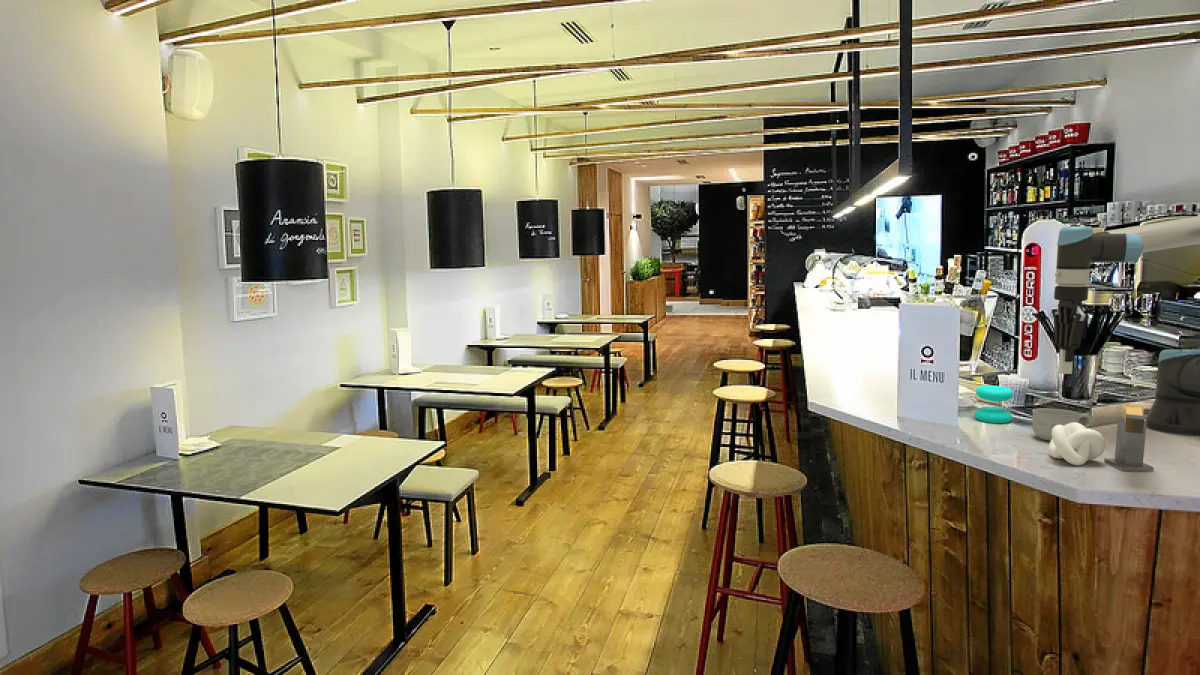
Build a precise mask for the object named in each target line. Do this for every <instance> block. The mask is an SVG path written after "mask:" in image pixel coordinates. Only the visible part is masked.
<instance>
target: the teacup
mask: <svg viewBox="0 0 1200 675" xmlns="http://www.w3.org/2000/svg"><path fill="white" fill-rule="evenodd" d="M1082 418H1086V422H1085V424H1084V425H1083V426H1084V427H1085V428H1086V429H1089V428H1090V426H1091V425H1092V423H1093V420H1092V417H1091V416H1090V414H1087V413H1085V412H1084V413H1082V412H1081V413H1078V412H1076V411H1074V410H1068V409H1061V408H1033V409H1032V431H1033V433H1034V434H1035V435H1036V436H1038V438H1039V439H1041V440H1043V441H1048V442H1049V441H1051V439H1052V429H1053V428H1054V426H1056V425H1063V426H1064V425H1066V424H1069V423H1074V422H1076V423H1079V422H1080V420H1081V419H1082Z"/></svg>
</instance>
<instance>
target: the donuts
mask: <svg viewBox="0 0 1200 675" xmlns="http://www.w3.org/2000/svg"><path fill="white" fill-rule="evenodd" d="M975 394H976V395H977V397H979V398H980V399H983V400H985V401H990V402H1005V401H1010V400H1011V399H1012V398H1013V397H1014V391H1013V390H1012V389H1011V388H1010V387H1006V386H1000V385H988V384H987V385H980V386H978V387H976V390H975ZM974 418H976V420H979V421H980V422H985V423H989V424H1007V423H1009V422H1011V420H1012V418H1013V415H1012V413H1011V412H1010V411H1009V410H1007V409H1005V408H1002V407H998V406H997V407H996V406H982V407H979V408H977V409H975V411H974Z"/></svg>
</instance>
